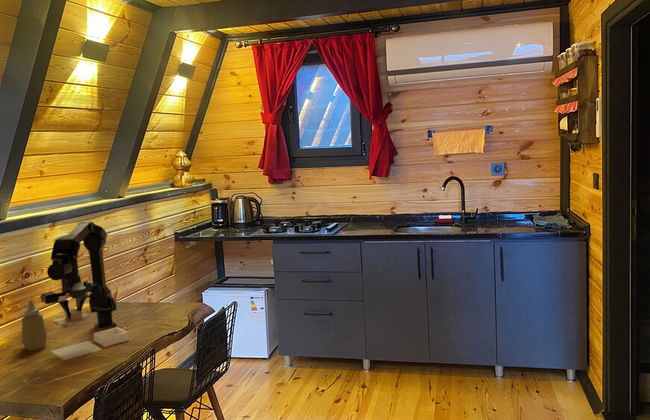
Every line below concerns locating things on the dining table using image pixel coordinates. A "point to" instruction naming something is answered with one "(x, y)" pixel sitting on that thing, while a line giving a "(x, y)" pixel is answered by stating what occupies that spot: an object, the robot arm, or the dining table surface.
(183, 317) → the dining table surface
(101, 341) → the dish
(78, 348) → the mat
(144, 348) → the dining table surface
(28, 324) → the squeeze bottle
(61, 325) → the lid
